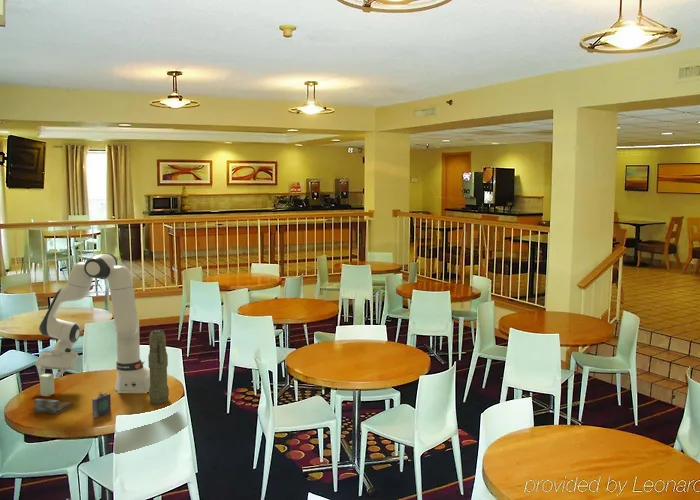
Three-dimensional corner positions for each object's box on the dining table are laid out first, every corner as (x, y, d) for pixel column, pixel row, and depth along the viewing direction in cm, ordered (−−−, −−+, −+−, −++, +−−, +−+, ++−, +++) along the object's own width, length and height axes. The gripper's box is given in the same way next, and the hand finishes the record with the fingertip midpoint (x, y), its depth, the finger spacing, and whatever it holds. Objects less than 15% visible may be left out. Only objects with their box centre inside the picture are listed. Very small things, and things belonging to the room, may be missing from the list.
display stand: (72, 405, 279) (72, 393, 278) (57, 414, 268) (56, 401, 268) (50, 403, 281) (49, 391, 281) (33, 412, 271) (33, 399, 270)
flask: (95, 419, 264) (94, 395, 263) (90, 417, 265) (89, 394, 264) (112, 412, 272) (111, 389, 271) (108, 411, 273) (107, 388, 272)
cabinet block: (54, 393, 296) (53, 373, 295) (48, 396, 291) (47, 376, 290) (46, 392, 296) (45, 373, 295) (40, 395, 292) (39, 376, 291)
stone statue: (155, 407, 279) (153, 334, 275) (145, 400, 287) (143, 330, 283) (173, 402, 285) (171, 331, 281) (162, 395, 293) (160, 327, 289)
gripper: (40, 347, 303) (27, 371, 294) (75, 350, 299) (63, 374, 291) (46, 353, 308) (34, 377, 299) (81, 356, 304) (69, 380, 295)
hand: (48, 376), depth 295 cm, fingers open, 8 cm apart
